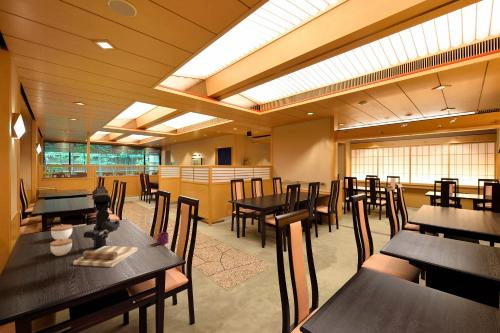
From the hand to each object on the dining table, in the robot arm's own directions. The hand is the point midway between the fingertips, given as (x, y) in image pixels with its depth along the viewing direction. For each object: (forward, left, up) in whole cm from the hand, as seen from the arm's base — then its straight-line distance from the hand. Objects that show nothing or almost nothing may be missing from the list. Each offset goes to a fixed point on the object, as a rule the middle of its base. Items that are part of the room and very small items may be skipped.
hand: (101, 245), depth 125 cm
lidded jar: (-38, +13, -12) cm, 42 cm away
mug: (+15, +38, -12) cm, 43 cm away
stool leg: (-6, +6, -9) cm, 12 cm away
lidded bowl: (-63, +38, -12) cm, 75 cm away
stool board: (-6, +12, -12) cm, 18 cm away
